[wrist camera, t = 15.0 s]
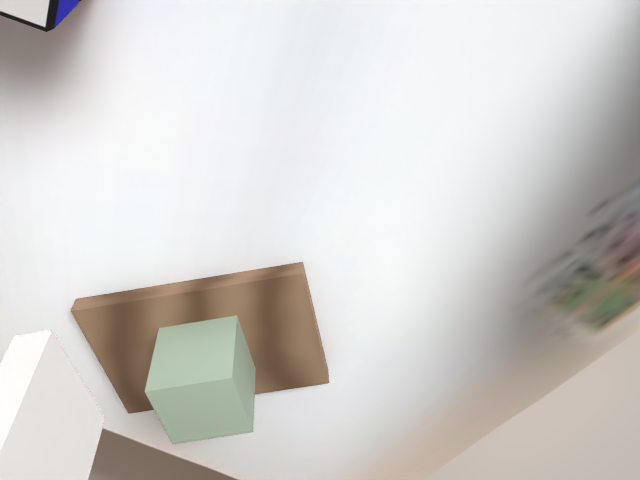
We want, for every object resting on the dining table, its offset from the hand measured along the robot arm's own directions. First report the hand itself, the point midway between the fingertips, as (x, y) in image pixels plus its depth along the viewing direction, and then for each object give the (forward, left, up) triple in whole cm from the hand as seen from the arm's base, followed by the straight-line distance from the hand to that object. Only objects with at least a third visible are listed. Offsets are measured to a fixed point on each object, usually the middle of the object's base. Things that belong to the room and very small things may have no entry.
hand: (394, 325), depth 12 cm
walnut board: (+15, +30, -32) cm, 46 cm away
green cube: (+15, +30, -30) cm, 45 cm away
